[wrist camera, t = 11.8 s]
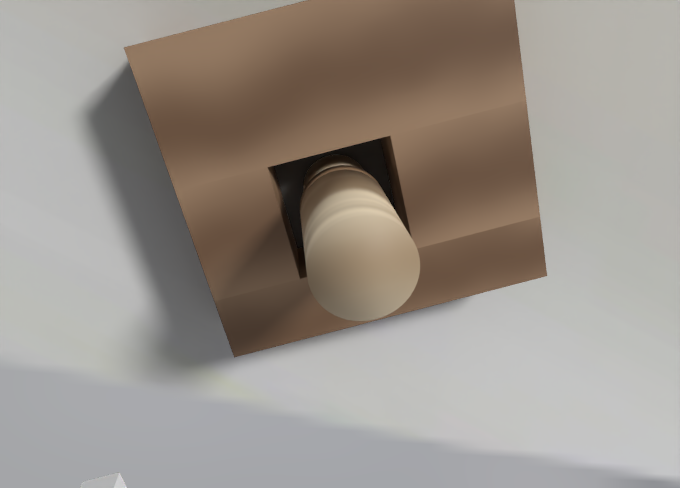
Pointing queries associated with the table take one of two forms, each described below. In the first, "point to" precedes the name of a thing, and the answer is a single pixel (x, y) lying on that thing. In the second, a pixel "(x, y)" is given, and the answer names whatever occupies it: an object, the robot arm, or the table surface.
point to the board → (342, 131)
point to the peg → (354, 242)
